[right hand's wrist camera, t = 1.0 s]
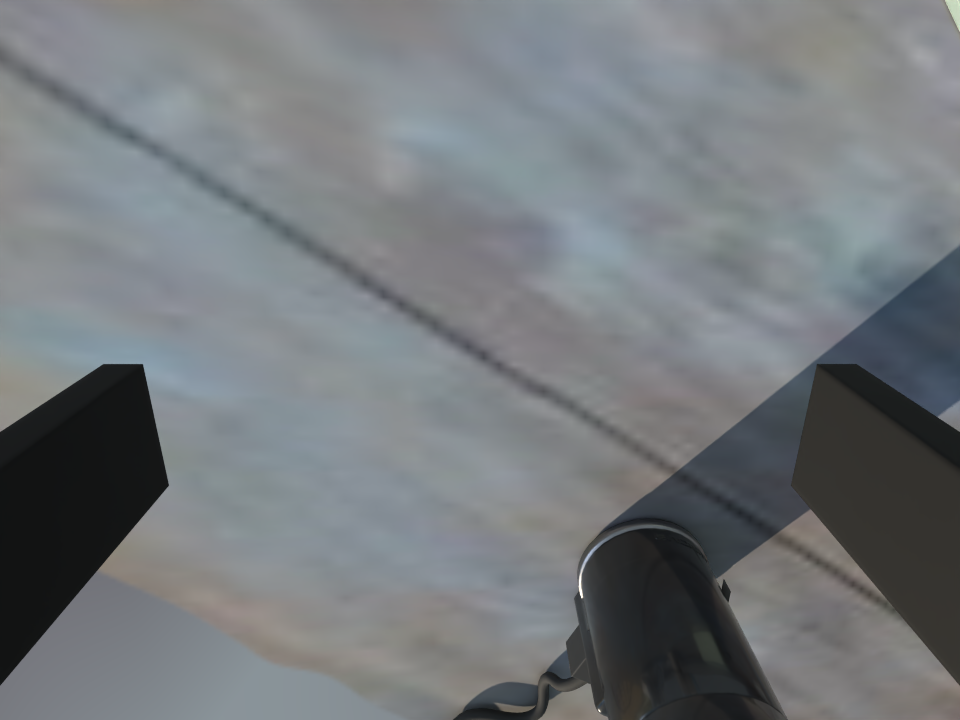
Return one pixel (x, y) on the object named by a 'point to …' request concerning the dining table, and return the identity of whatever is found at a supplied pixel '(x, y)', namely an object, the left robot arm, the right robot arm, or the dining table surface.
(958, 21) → the cabinet
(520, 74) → the dining table surface
